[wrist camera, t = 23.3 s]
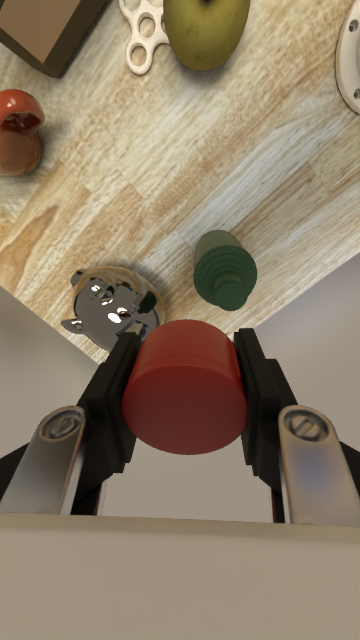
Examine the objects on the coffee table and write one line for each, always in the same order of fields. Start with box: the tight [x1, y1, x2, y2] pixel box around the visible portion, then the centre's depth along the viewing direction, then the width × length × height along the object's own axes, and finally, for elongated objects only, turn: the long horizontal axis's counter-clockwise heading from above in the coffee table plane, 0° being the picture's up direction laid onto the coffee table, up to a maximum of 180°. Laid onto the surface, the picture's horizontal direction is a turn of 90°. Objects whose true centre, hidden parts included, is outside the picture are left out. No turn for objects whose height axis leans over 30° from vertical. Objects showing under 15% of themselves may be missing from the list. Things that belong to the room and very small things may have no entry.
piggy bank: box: [61, 266, 165, 352], centre depth 35 cm, size 11×15×12 cm
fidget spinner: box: [118, 0, 170, 74], centre depth 26 cm, size 7×6×1 cm
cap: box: [121, 319, 248, 455], centre depth 9 cm, size 4×4×3 cm
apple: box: [163, 0, 250, 70], centre depth 23 cm, size 8×8×7 cm
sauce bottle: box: [194, 230, 257, 311], centre depth 28 cm, size 6×6×18 cm
